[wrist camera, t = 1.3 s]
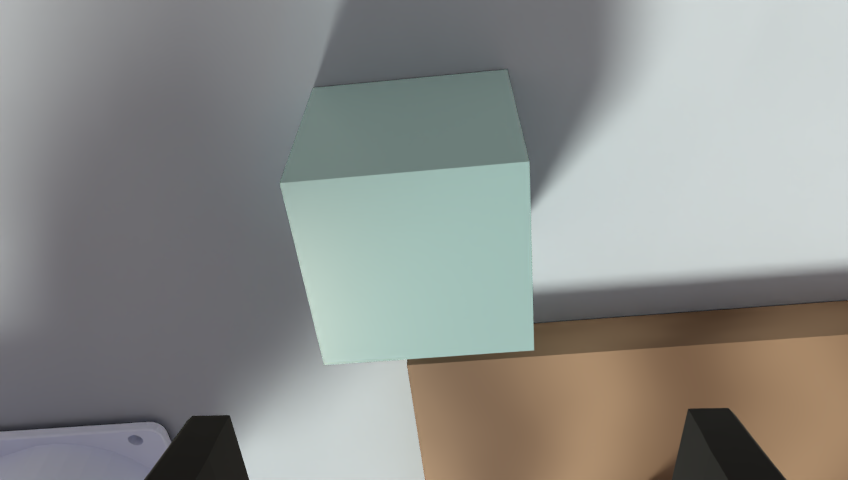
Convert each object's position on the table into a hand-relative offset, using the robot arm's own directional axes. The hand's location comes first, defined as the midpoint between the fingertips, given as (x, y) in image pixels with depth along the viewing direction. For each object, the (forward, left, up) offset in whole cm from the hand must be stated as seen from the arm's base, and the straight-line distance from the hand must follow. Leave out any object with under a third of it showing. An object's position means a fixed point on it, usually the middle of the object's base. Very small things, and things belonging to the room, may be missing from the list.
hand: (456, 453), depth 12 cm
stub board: (+6, -13, -10) cm, 17 cm away
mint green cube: (-1, 0, -10) cm, 10 cm away
